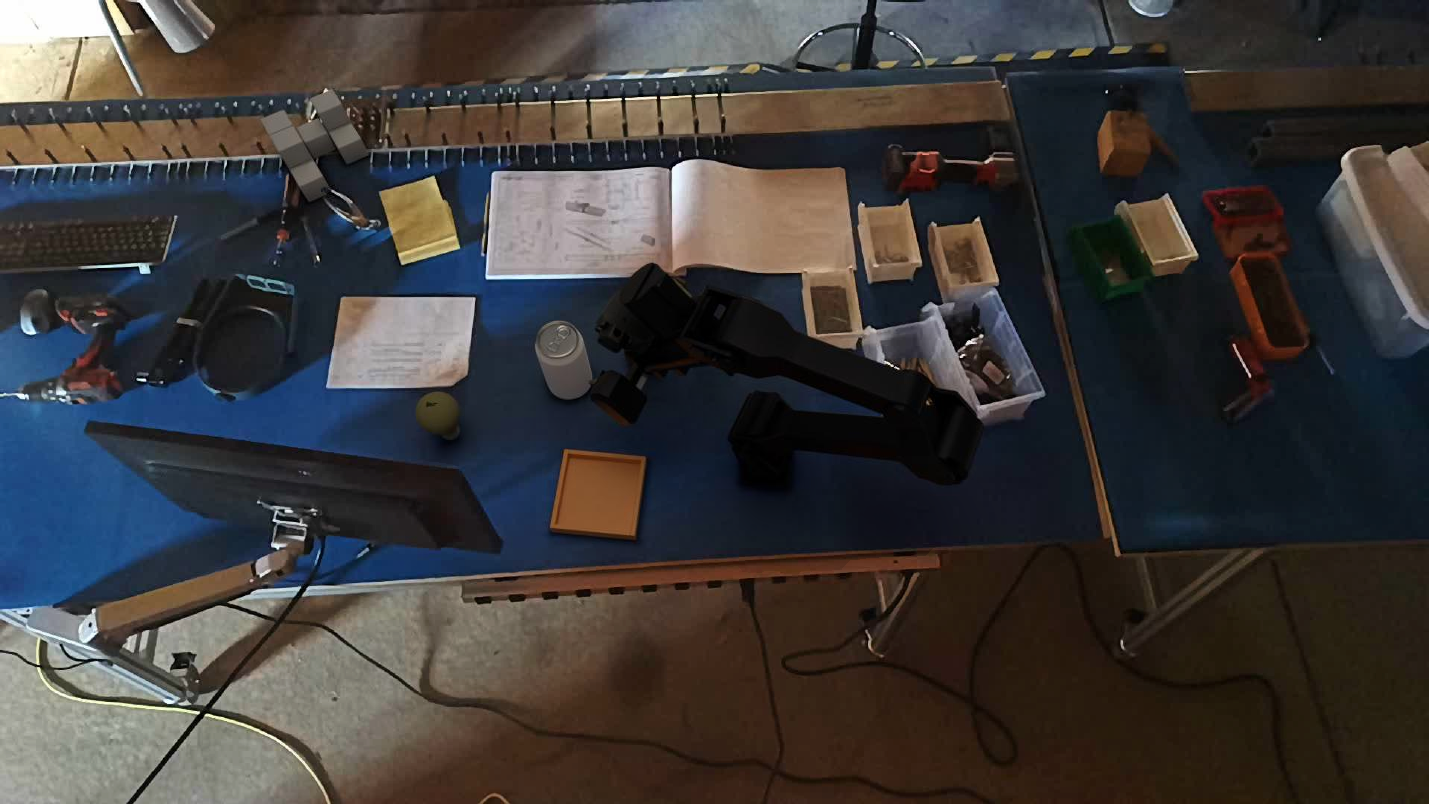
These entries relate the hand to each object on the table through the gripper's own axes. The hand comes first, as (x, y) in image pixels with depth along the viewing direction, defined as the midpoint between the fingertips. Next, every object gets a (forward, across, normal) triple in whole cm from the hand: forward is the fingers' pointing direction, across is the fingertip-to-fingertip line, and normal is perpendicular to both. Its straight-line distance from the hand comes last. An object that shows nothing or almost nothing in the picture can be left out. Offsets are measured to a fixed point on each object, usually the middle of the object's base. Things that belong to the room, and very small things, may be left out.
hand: (608, 355), depth 110 cm
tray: (+6, +14, +13) cm, 20 cm away
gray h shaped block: (+54, -19, -35) cm, 67 cm away
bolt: (+9, -13, +10) cm, 19 cm away
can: (+15, 0, +4) cm, 15 cm away
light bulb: (+23, +14, -4) cm, 27 cm away
